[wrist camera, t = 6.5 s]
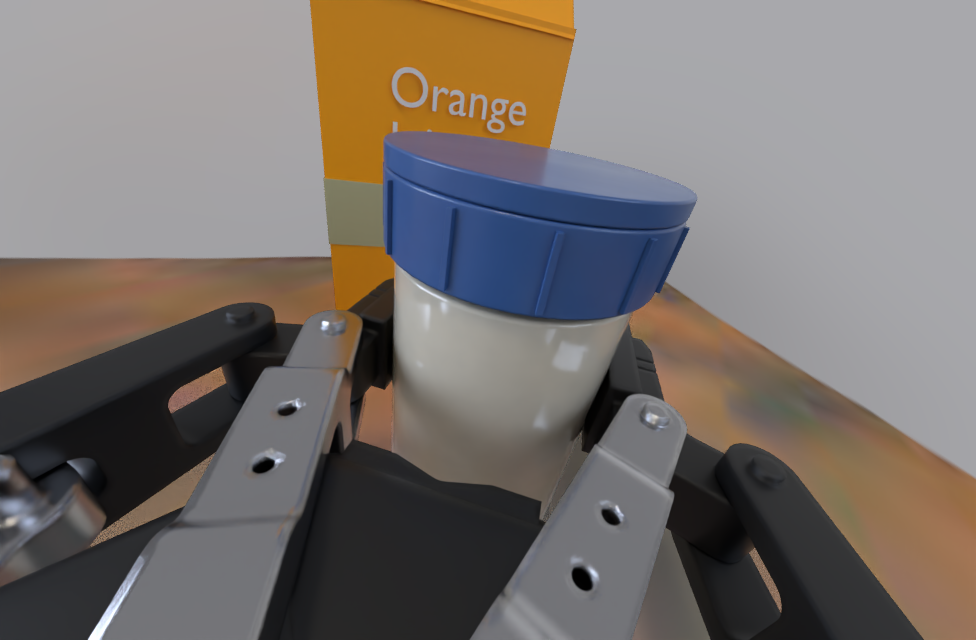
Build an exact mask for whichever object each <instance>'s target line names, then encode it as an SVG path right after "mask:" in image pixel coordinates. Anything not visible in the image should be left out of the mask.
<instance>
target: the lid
mask: <svg viewBox="0 0 976 640" xmlns="http://www.w3.org/2000/svg"><path fill="white" fill-rule="evenodd" d="M383 160H384V162H383V241H384V244H385V253H386V254H387V255H390V257H391V258H392V259H393V260H394V262H395V263H396V264H397V265H398V266H399V267H400V268H402V269H403V270H404V271H406V272H407V273H408V274H410V275H411V276H412V277H414V278H416V279H418V280H419V281H421V282H423V283H424V284H426V285H428V286H430V287H432V288H434V289H436V290H439V291H441V292H443V293H445V294H448V295H450V296H453V297H456V298H458V299H461V300H464V301H466V302H470V303H473V304H476V305H480V306H483V307H486V308H490V309H494V310H499V311H503V312H507V313H512V314H518V315H524V316H530V317H536V318H546V319H557V320H595V319H605V318H611V317H617V316H621V315H625V314H628V313H631V312H633V311H635V310H637V309H639V308H641V307H643V306H644V305H645V304H646V303H647V302H648V301H650V300H651V298H652V297H653V295H654V293H655V292H657V293H660V291H661V289H662V287H663V285H664V282H665V280H666V278H667V276H668V274H669V272H670V270H671V267H672V265H673V263H674V261H675V259H676V257H677V255H678V252H679V250H680V248H681V246H682V244H683V241H684V240H685V237H686V235H687V233H688V231H689V227H686V226H685V225H686V221H687V220H688V218H689V217H690V214H691V212H692V210H693V208H694V206H695V204H696V201H697V195H696V194H695V193H694V192H693V191H692V190H690V189H689V188H687V187H685V186H683V185H681V184H679V183H677V182H674V181H671V180H669V179H666V178H663V177H660V176H658V175H654V174H651V173H648V172H645V171H642V170H638V169H635V168H631V167H627V166H624V165H620V164H616V163H612V162H608V161H604V160H600V159H596V158H592V157H587V156H583V155H579V154H574V153H569V152H565V151H560V150H555V149H550V148H545V147H539V146H534V145H528V144H523V143H517V142H511V141H505V140H498V139H492V138H485V137H477V136H470V135H461V134H452V133H441V132H426V131H401V132H394V133H390V134H387V135H386V136H385V137H384V140H383Z"/></svg>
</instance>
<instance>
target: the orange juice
mask: <svg viewBox="0 0 976 640" xmlns="http://www.w3.org/2000/svg"><path fill="white" fill-rule="evenodd" d="M310 6H311V18H312V30H313V41H314V53H315V65H316V77H317V90H318V102H319V112H320V113H319V114H320V126H321V138H322V149H323V161H324V173H325V177H324V188H325V189H324V190H325V201H326V212H327V225H328V236H329V244H330V245H331V257H332V269H333V281H334V293H335V305H336V310H345V311H347V310H348V309H349V308H351V307H352V306H353V305H354V304H356V303H357V302H358V301H360V300H361V299H362V298H363V297H365V296H366V295H369V293H370V292H371V291H372V290H374V289H376V287H377V286H379V285H380V284H381V283H382V282H384V281H385V280H388V279H391V278H394V260H393V259H392V258H391V257H390V255H387V254H386V253H385V244H384V241H383V162H384V160H383V140H384V137H385V136H386V135H387V134H390V133H394V132H401V131H426V132H441V133H452V134H461V135H470V136H477V137H485V138H492V139H498V140H505V141H511V142H517V143H523V144H528V145H534V146H539V147H545V148H550V144H551V139H552V135H553V131H554V126H555V122H556V117H557V112H558V108H559V104H560V99H561V95H562V91H563V86H564V82H565V77H566V73H567V68H568V63H569V59H570V55H571V51H572V46H573V42H574V37H575V33H576V29H574V14H573V13H574V10H573V9H574V7H573V0H310Z"/></svg>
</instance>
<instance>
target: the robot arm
mask: <svg viewBox="0 0 976 640" xmlns="http://www.w3.org/2000/svg"><path fill="white" fill-rule="evenodd" d="M393 314H394V278H391V279H388V280H385V281H384V282H382V283H381V284H380V285H379V286H377V287H376V289H374V290H372V291H371V292H370V293H369V295H366V296H365V297H363V298H362V299H361V300H360V301H358V302H357V303H356V304H354V305H353V306H352V307H351V308H349V309H348V310H347V311H345V310H329V311H323V312H320V313H317V314H315V315H313V316H311V317H309V318H308V319H307V320H306V322H305V323H304V325H299V324H284V323H276V321H275V316H274V311H273V309H272V308H270V307H269V306H267V305H264V304H260V303H237V304H232V305H228V306H225V307H222V308H219V309H217V310H214V311H212V312H209V313H206V314H204V315H201V316H199V317H196V318H193V319H191V320H188V321H185V322H183V323H180V324H178V325H175V326H172V327H170V328H167V329H165V330H162V331H159V332H157V333H154V334H152V335H149V336H146V337H144V338H141V339H139V340H136V341H133V342H131V343H128V344H126V345H123V346H120V347H118V348H115V349H112V350H110V351H107V352H105V353H102V354H99V355H97V356H94V357H92V358H89V359H86V360H84V361H81V362H79V363H76V364H73V365H71V366H68V367H66V368H63V369H60V370H58V371H55V372H52V373H50V374H47V375H45V376H42V377H39V378H37V379H34V380H32V381H29V382H26V383H24V384H21V385H19V386H16V387H13V388H11V389H8V390H6V391H3V392H0V640H632V637H633V634H634V630H635V627H636V624H637V620H638V617H639V614H640V610H641V607H642V604H643V600H644V597H645V594H646V590H647V587H648V584H649V580H650V577H651V573H652V570H653V567H654V563H655V560H656V557H657V553H658V550H659V547H660V543H661V540H662V537H663V533H664V530H665V527H666V528H667V529H669V530H670V531H671V534H672V537H673V540H674V543H675V545H676V548H677V551H678V553H679V556H680V559H681V561H682V564H683V567H684V569H685V572H686V575H687V577H688V580H689V583H690V586H691V588H692V591H693V594H694V596H695V599H696V602H697V604H698V607H699V610H700V612H701V615H702V618H703V620H704V623H705V626H706V628H707V631H708V634H709V636H710V639H711V640H924V639H923V638H922V637H921V635H920V634H919V633H918V632H917V630H916V629H915V628H914V626H913V625H912V624H911V622H910V621H909V620H908V619H907V617H906V616H905V615H904V613H903V612H902V611H901V610H900V608H899V607H898V606H897V604H896V603H895V602H894V600H893V599H892V598H891V597H890V595H889V594H888V593H887V591H886V590H885V589H884V588H883V586H882V585H881V584H880V582H879V581H878V580H877V578H876V577H875V576H874V575H873V573H872V572H871V571H870V569H869V568H868V567H867V566H866V564H865V563H864V562H863V560H862V559H861V558H860V556H859V555H858V554H857V553H856V551H855V550H854V549H853V547H852V546H851V545H850V544H849V542H848V541H847V540H846V538H845V537H844V536H843V534H842V533H841V532H840V531H839V529H838V528H837V527H836V525H835V524H834V523H833V522H832V520H831V519H830V518H829V516H828V515H827V514H826V512H825V511H824V510H823V509H822V507H821V506H820V505H819V503H818V502H817V501H816V500H815V498H814V497H813V496H812V494H811V493H810V492H809V490H808V489H807V488H806V487H805V485H804V484H803V483H802V481H801V480H800V479H799V477H798V476H797V475H796V474H795V473H794V472H793V471H792V470H791V469H790V468H789V467H788V466H787V465H786V464H785V463H784V462H782V461H781V460H780V459H778V458H777V457H775V456H774V455H772V454H771V453H769V452H767V451H765V450H763V449H761V448H758V447H756V446H753V445H749V444H742V443H739V444H734V445H732V446H730V447H729V449H728V450H727V451H726V452H725V454H724V453H722V452H720V451H718V450H716V449H714V448H712V447H710V446H708V445H706V444H704V443H702V442H701V441H699V440H697V439H695V438H693V437H692V436H690V435H689V434H687V426H686V423H685V421H684V419H683V417H682V416H681V415H680V414H679V413H678V412H677V410H675V409H674V408H673V407H672V406H670V405H669V404H668V403H666V402H664V398H663V394H662V391H661V387H660V383H659V379H658V376H657V373H656V368H655V365H654V364H653V363H654V361H653V357H652V353H651V351H650V349H649V348H648V347H647V346H646V345H645V343H644V342H643V341H642V340H640V339H636V338H633V337H632V336H631V331H630V326H629V323H628V325H627V328H626V330H625V332H624V335H623V337H622V339H621V341H620V344H619V346H618V348H617V351H616V353H615V355H614V358H613V360H612V362H611V364H610V367H609V369H608V371H607V374H606V376H605V378H604V380H603V383H602V385H601V387H600V390H599V392H598V394H597V397H596V399H595V401H594V403H593V406H592V408H591V410H590V413H589V415H588V417H587V419H586V422H585V424H584V426H583V429H582V451H584V452H587V453H589V455H588V456H587V458H586V459H585V461H584V463H583V464H582V466H581V467H580V469H579V471H578V472H577V474H576V475H575V477H574V479H573V480H572V482H571V483H570V485H569V487H568V488H567V490H566V491H565V493H564V495H563V496H562V498H561V499H560V501H559V503H558V504H557V506H556V507H555V509H554V511H553V512H552V514H551V515H550V517H549V519H548V520H547V522H544V521H543V520H541V519H540V511H541V503H542V501H539V500H536V499H533V498H530V497H527V496H524V495H521V494H518V493H515V492H512V491H508V490H505V489H502V488H499V487H496V486H493V485H483V484H471V483H459V482H446V481H440V480H437V479H435V478H434V477H432V476H430V475H429V474H427V473H426V472H424V471H423V470H421V469H420V468H418V467H417V466H415V465H413V464H412V463H410V462H409V461H407V460H406V459H404V458H403V457H401V456H400V455H398V454H397V453H394V452H391V451H388V450H385V449H381V448H378V447H375V446H372V445H369V444H366V443H363V442H360V441H358V438H359V433H360V428H361V422H362V417H363V412H364V407H365V401H366V395H365V392H366V391H367V390H368V389H369V387H370V386H374V387H378V388H381V389H384V390H385V388H386V387H387V386H388V384H389V383H390V382H391V380H392V370H393ZM219 367H222V370H223V373H224V376H225V380H226V384H224V385H222V386H220V387H219V388H217V389H215V390H213V391H211V392H210V393H208V394H206V395H204V396H202V397H201V398H199V399H197V400H195V401H194V402H192V403H190V404H188V405H186V406H185V407H183V408H181V409H179V410H177V411H176V412H174V413H172V414H171V413H170V411H169V408H168V402H169V399H170V397H171V396H172V395H173V393H174V392H175V391H176V390H178V389H179V388H180V387H182V386H184V385H186V384H188V383H190V382H191V381H193V380H195V379H197V378H199V377H201V376H203V375H205V374H207V373H209V372H211V371H213V370H215V369H217V368H219ZM216 451H217V452H216ZM215 452H216V453H215ZM213 453H215V455H214V457H213V459H212V460H211V462H210V464H209V465H208V467H207V469H206V471H205V472H204V474H203V476H202V478H201V479H200V481H199V483H198V485H197V486H196V488H195V490H194V492H193V493H192V495H191V497H190V499H189V500H188V502H187V504H186V505H185V506H184V507H182V508H180V509H177V510H175V511H173V512H170V513H168V514H166V515H164V516H161V517H159V518H157V519H154V520H152V521H150V522H148V523H145V524H143V525H141V526H138V527H136V528H134V529H131V530H129V531H127V532H125V533H122V534H120V535H118V536H115V537H113V538H111V539H109V540H106V541H104V542H102V543H99V544H97V545H95V546H92V547H91V546H90V544H91V543H92V542H93V541H94V540H95V539H96V537H97V536H98V535H99V533H100V532H101V531H103V530H104V529H106V528H107V527H108V526H110V525H111V524H113V523H114V522H116V521H117V520H119V519H120V518H121V517H123V516H124V515H126V514H127V513H129V512H130V511H131V510H133V509H134V508H136V507H137V506H139V505H140V504H142V503H143V502H144V501H146V500H147V499H149V498H150V497H152V496H153V495H154V494H156V493H157V492H159V491H160V490H162V489H163V488H165V487H166V486H167V485H169V484H170V483H172V482H173V481H175V480H176V479H177V478H179V477H180V476H182V475H183V474H185V473H186V472H188V471H189V470H190V469H192V468H193V467H195V466H196V465H198V464H199V463H201V462H202V461H203V460H205V459H206V458H208V457H209V456H211V455H212V454H213ZM754 548H756V550H757V552H758V554H759V556H760V557H761V559H762V561H763V563H764V565H765V567H766V568H767V570H768V572H769V574H770V576H771V577H772V579H773V581H774V583H775V585H776V587H777V589H778V591H779V594H780V598H781V603H782V611H781V613H780V611H779V609H778V607H777V605H776V603H775V601H774V599H773V597H772V596H771V594H770V592H769V590H768V588H767V586H766V584H765V582H764V581H763V579H762V577H761V575H760V573H759V571H758V569H757V567H756V565H755V564H754V562H753V560H752V558H751V556H750V554H749V552H750V551H751V550H752V549H754Z"/></svg>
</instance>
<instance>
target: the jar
mask: <svg viewBox="0 0 976 640" xmlns="http://www.w3.org/2000/svg"><path fill="white" fill-rule="evenodd" d="M633 312H634V311H633ZM633 312H631V313H628V314H625V315H621V316H617V317H611V318H605V319H595V320H557V319H546V318H536V317H530V316H524V315H518V314H512V313H507V312H503V311H499V310H494V309H490V308H486V307H483V306H480V305H476V304H473V303H470V302H466V301H464V300H461V299H458V298H456V297H453V296H450V295H448V294H445V293H443V292H441V291H439V290H436V289H434V288H432V287H430V286H428V285H426V284H424V283H423V282H421V281H419V280H418V279H416V278H414V277H412V276H411V275H410V274H408V273H407V272H406V271H404V270H403V269H402V268H400V267H399V266H398V265H397V264H396V263H395V262H394V314H393V370H392V426H391V452H394V453H397V454H398V455H400V456H401V457H403V458H404V459H406V460H407V461H409V462H410V463H412V464H413V465H415V466H417V467H418V468H420V469H421V470H423V471H424V472H426V473H427V474H429V475H430V476H432V477H434V478H435V479H437V480H440V481H446V482H459V483H471V484H483V485H493V486H496V487H499V488H502V489H505V490H508V491H512V492H515V493H518V494H521V495H524V496H527V497H530V498H533V499H536V500H539V501H542V503H541V511H540V519H541V520H543V518H544V516H545V514H546V511H547V509H548V507H549V504H550V502H551V500H552V498H553V495H554V493H555V491H556V488H557V486H558V484H559V481H560V479H561V477H562V475H563V472H564V470H565V468H566V465H567V463H568V461H569V458H570V456H571V454H572V452H573V449H574V447H575V445H576V442H577V440H578V438H579V436H580V433H581V431H582V429H583V426H584V424H585V422H586V419H587V417H588V415H589V413H590V410H591V408H592V406H593V403H594V401H595V399H596V397H597V394H598V392H599V390H600V387H601V385H602V383H603V380H604V378H605V376H606V374H607V371H608V369H609V367H610V364H611V362H612V360H613V358H614V355H615V353H616V351H617V348H618V346H619V344H620V341H621V339H622V337H623V335H624V332H625V330H626V328H627V325H628V323H629V321H630V318H631V316H632V314H633Z"/></svg>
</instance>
